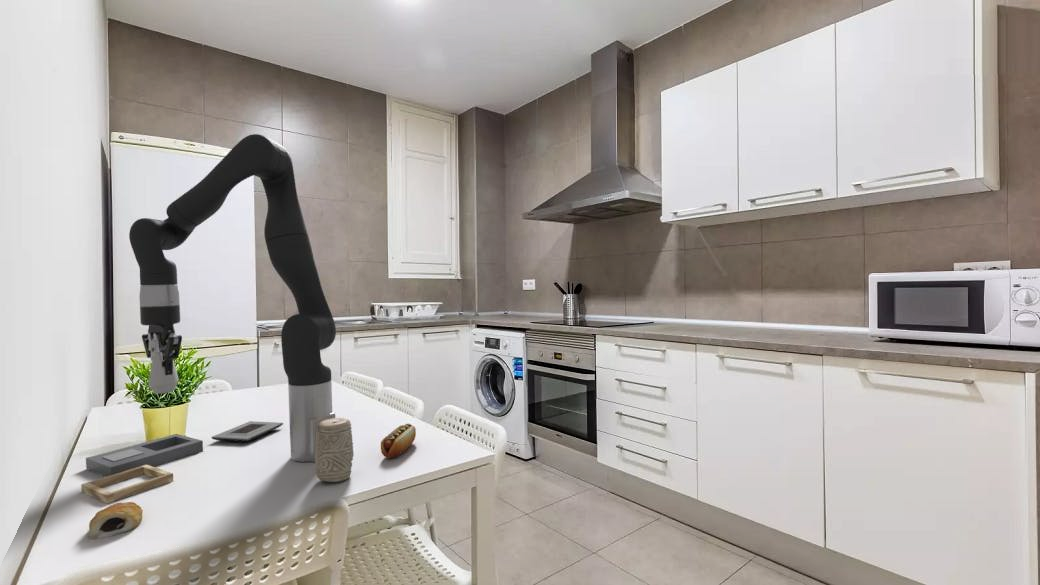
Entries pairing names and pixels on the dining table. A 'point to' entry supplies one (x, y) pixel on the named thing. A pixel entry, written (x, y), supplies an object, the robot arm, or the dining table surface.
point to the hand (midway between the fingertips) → (163, 376)
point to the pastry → (115, 520)
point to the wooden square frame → (107, 497)
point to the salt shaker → (161, 374)
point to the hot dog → (398, 441)
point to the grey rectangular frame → (144, 454)
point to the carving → (333, 450)
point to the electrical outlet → (247, 431)
